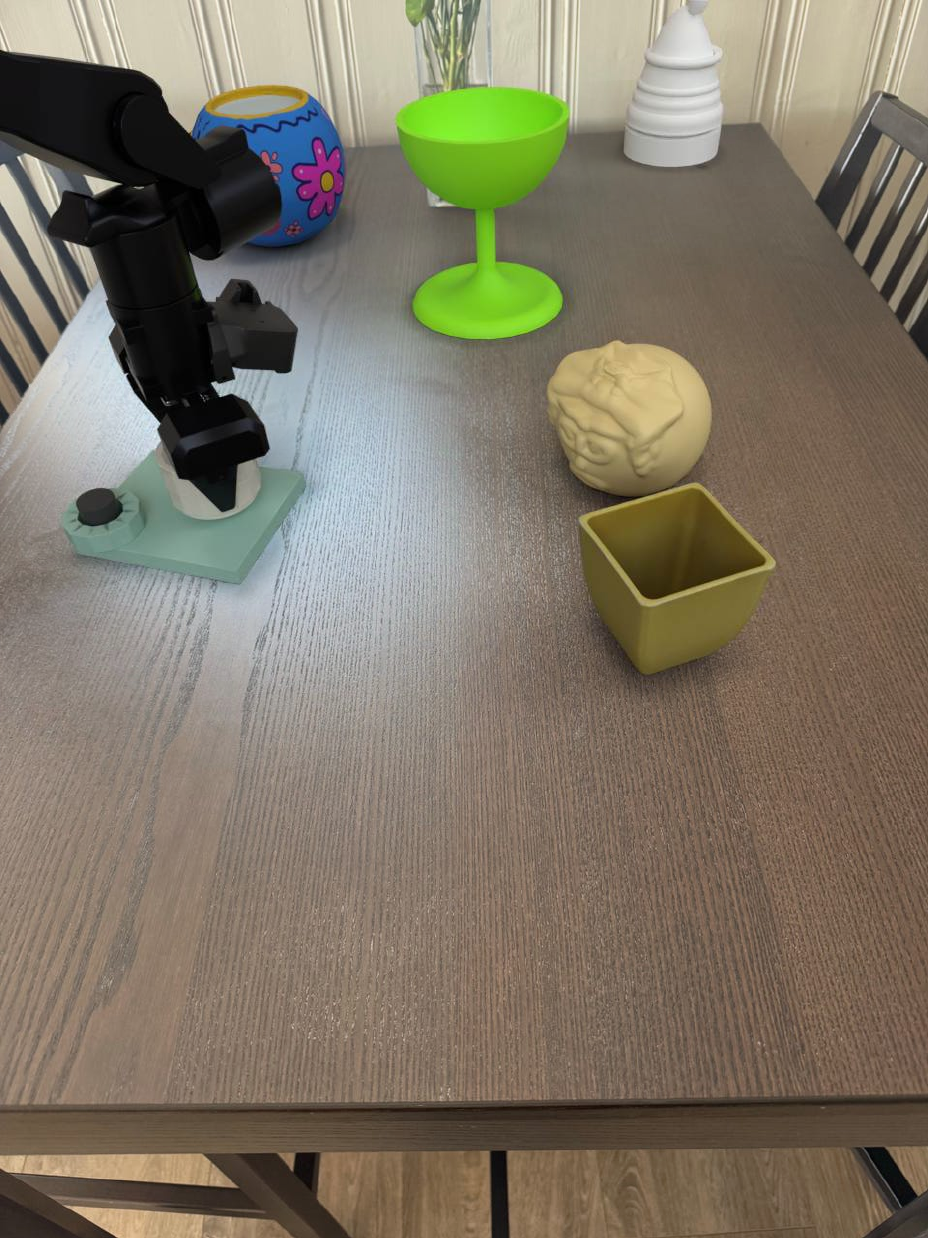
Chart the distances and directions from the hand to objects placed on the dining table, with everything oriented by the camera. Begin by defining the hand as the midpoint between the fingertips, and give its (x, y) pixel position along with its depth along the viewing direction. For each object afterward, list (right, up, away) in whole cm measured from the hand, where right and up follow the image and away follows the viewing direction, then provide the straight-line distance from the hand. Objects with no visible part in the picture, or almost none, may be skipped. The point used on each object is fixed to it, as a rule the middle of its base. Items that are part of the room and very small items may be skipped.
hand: (213, 483), depth 67 cm
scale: (-2, -3, +2) cm, 4 cm away
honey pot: (+48, +55, +54) cm, 90 cm away
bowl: (0, -1, +1) cm, 1 cm away
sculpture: (+33, +2, +4) cm, 33 cm away
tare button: (-8, -3, -1) cm, 9 cm away
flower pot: (+32, -12, -9) cm, 35 cm away
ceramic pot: (-3, +36, +39) cm, 53 cm away
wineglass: (+22, +23, +25) cm, 41 cm away
